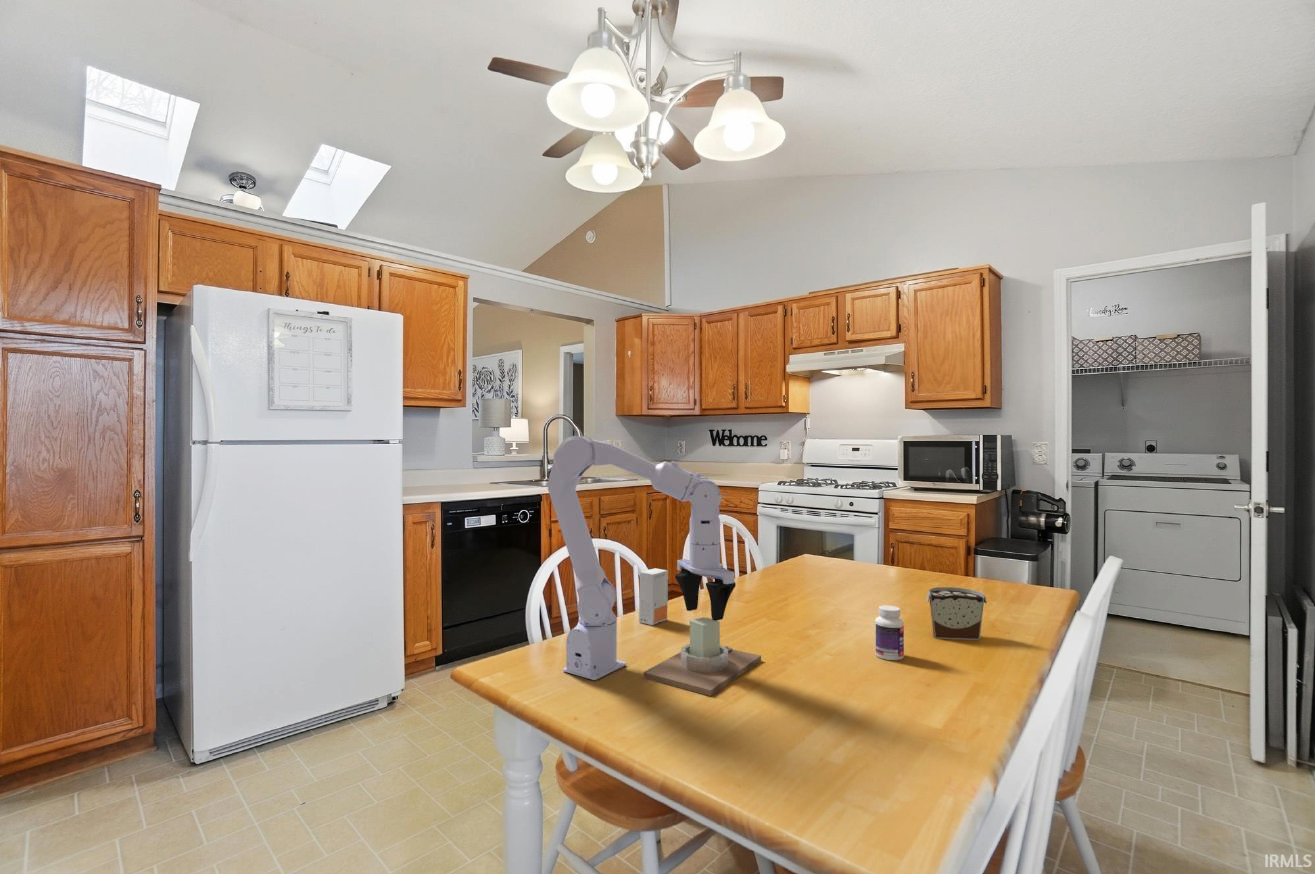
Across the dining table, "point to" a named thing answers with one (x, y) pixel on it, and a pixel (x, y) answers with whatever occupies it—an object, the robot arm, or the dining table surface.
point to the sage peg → (704, 637)
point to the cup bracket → (702, 669)
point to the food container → (956, 612)
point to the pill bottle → (889, 633)
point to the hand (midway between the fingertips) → (704, 614)
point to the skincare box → (653, 596)
